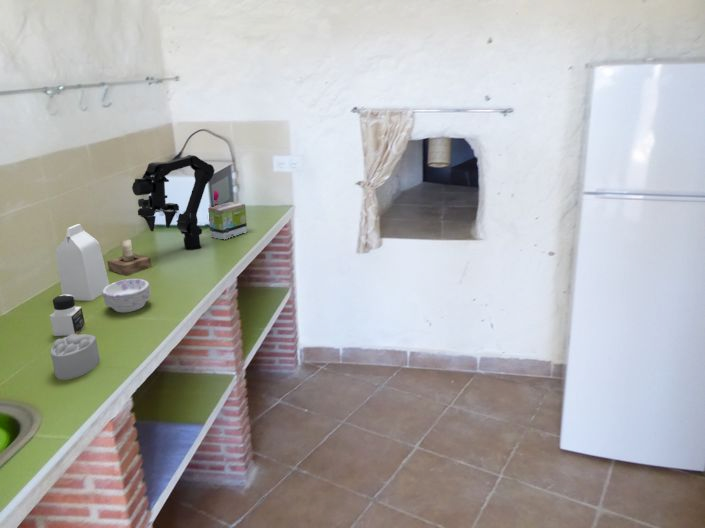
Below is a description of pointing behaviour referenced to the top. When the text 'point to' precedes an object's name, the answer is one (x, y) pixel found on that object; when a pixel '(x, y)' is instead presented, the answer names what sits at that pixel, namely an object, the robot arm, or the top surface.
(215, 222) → the tea box
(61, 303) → the medicine bottle
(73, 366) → the lumpy-topped squat cylinder
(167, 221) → the robot arm
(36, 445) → the top surface
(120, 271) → the brown rectangular frame
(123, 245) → the peg
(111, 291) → the white patterned bowl
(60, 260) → the milk
